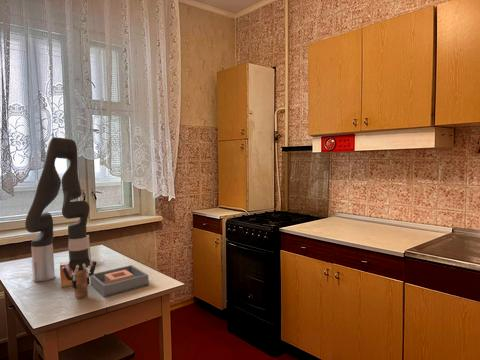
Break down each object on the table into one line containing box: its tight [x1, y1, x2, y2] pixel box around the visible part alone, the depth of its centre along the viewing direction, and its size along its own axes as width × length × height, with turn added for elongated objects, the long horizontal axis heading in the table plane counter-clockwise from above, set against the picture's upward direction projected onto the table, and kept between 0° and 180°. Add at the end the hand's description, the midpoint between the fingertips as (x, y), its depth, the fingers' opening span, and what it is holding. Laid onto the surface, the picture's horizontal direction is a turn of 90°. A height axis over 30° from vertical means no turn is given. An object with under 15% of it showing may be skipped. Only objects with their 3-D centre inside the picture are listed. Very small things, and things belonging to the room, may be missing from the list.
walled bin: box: [89, 264, 150, 298], centre depth 159 cm, size 20×20×5 cm
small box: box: [59, 261, 72, 288], centre depth 163 cm, size 8×6×10 cm
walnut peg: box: [74, 269, 89, 300], centre depth 147 cm, size 4×4×12 cm
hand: (80, 286), depth 147 cm, fingers closed on walnut peg, 4 cm apart
